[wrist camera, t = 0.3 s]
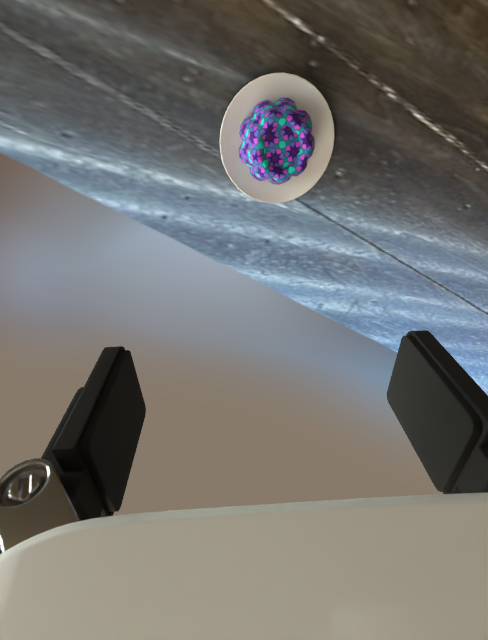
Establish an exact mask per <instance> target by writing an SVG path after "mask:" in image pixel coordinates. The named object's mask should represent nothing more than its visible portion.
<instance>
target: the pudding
mask: <svg viewBox="0 0 488 640" xmlns="http://www.w3.org/2000/svg"><path fill="white" fill-rule="evenodd" d="M333 146H334V123H333V118H332V114H331V111H330V109H329V106H328V104H327V102H326V100H325V99H324V97H323V95H322V94H321V93H320V92H319V90H318V89H317V88H316V87H315V86H314V85H313V84H311V83H310V82H308V81H307V80H305V79H304V78H301V77H299V76H297V75H294V74H288V73H271V74H268V75H264V76H261V77H259V78H257V79H255V80H253V81H251V82H250V83H248V84H247V85H246V86H244V87H243V88H242V89H241V90H240V91H239V92H238V94H237V95H236V96H235V97H234V98H233V100H232V102H231V103H230V105H229V106H228V108H227V111H226V113H225V115H224V118H223V122H222V126H221V131H220V153H221V157H222V162H223V165H224V167H225V170H226V172H227V174H228V176H229V177H230V179H231V181H232V182H233V183H234V184H235V185H236V187H237V188H238V189H239V190H241V191H242V192H243V193H244V194H245V195H247V196H249V197H251V198H253V199H255V200H258V201H261V202H266V203H282V202H287V201H290V200H293V199H295V198H298V197H299V196H301V195H303V194H304V193H306V192H307V191H308V190H309V189H311V188H312V187H313V186H314V185H315V184H316V183H317V181H318V180H319V179H320V178H321V176H322V175H323V173H324V171H325V170H326V168H327V165H328V163H329V161H330V158H331V154H332V151H333Z"/></svg>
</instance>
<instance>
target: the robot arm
mask: <svg viewBox="0 0 488 640" xmlns="http://www.w3.org/2000/svg"><path fill="white" fill-rule="evenodd" d="M387 399H388V402H389V404H390V406H391V408H392V410H393V411H394V413H395V415H396V417H397V419H398V420H399V422H400V424H401V426H402V428H403V429H404V431H405V433H406V435H407V437H408V438H409V440H410V442H411V444H412V446H413V447H414V449H415V451H416V453H417V455H418V457H419V458H420V460H421V462H422V464H423V466H424V468H425V469H426V471H427V473H428V475H429V477H430V478H431V480H432V482H433V484H434V486H435V487H436V489H437V490H438V491H440V492H443V494H436V495H418V496H400V497H381V498H363V499H346V500H329V501H314V502H296V503H280V504H265V505H248V506H234V507H219V508H203V509H189V510H173V511H161V512H149V513H137V514H126V515H116V516H113V513H114V512H115V511H119V509H120V507H121V504H122V500H123V496H124V492H125V489H126V485H127V481H128V478H129V474H130V470H131V467H132V462H133V459H134V455H135V452H136V448H137V444H138V441H139V436H140V433H141V429H142V426H143V422H144V418H145V412H146V409H145V403H144V400H143V396H142V392H141V389H140V385H139V381H138V378H137V374H136V371H135V367H134V363H133V360H132V356H131V353H130V351H128V350H126V351H125V349H124V347H106V348H104V350H103V351H102V353H101V355H100V357H99V359H98V361H97V363H96V365H95V367H94V369H93V370H92V373H91V374H90V376H89V378H88V380H87V382H86V384H85V386H84V387H81V388H80V389H79V390H78V391H77V393H76V394H75V396H74V398H73V399H72V401H71V403H70V405H69V407H68V409H67V411H66V413H65V414H64V416H63V418H62V420H61V422H60V424H59V426H58V428H57V429H56V431H55V433H54V435H53V437H52V439H51V441H50V442H49V445H48V446H47V448H46V450H45V452H44V454H43V456H42V457H41V459H31V460H27V461H24V462H22V463H20V464H17V465H15V466H14V467H13V468H11V469H10V470H8V471H7V472H6V473H5V474H4V475H3V476H1V478H0V640H488V396H487V394H486V393H485V392H484V391H483V390H482V389H481V388H480V387H479V386H478V385H477V384H476V382H475V381H474V380H473V379H472V378H471V377H470V376H469V375H468V374H467V373H466V371H465V370H464V369H463V368H462V367H461V366H460V365H459V364H458V363H457V362H456V360H455V359H454V358H453V357H452V356H451V355H450V354H449V353H448V352H447V351H446V349H445V348H444V347H443V346H442V345H441V344H440V343H439V342H438V341H437V340H436V339H435V337H434V336H433V335H432V334H431V333H430V332H429V331H426V330H425V331H410V332H408V333H407V335H406V336H403V337H402V339H401V343H400V347H399V350H398V354H397V358H396V362H395V365H394V369H393V373H392V376H391V380H390V383H389V387H388V391H387Z"/></svg>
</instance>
